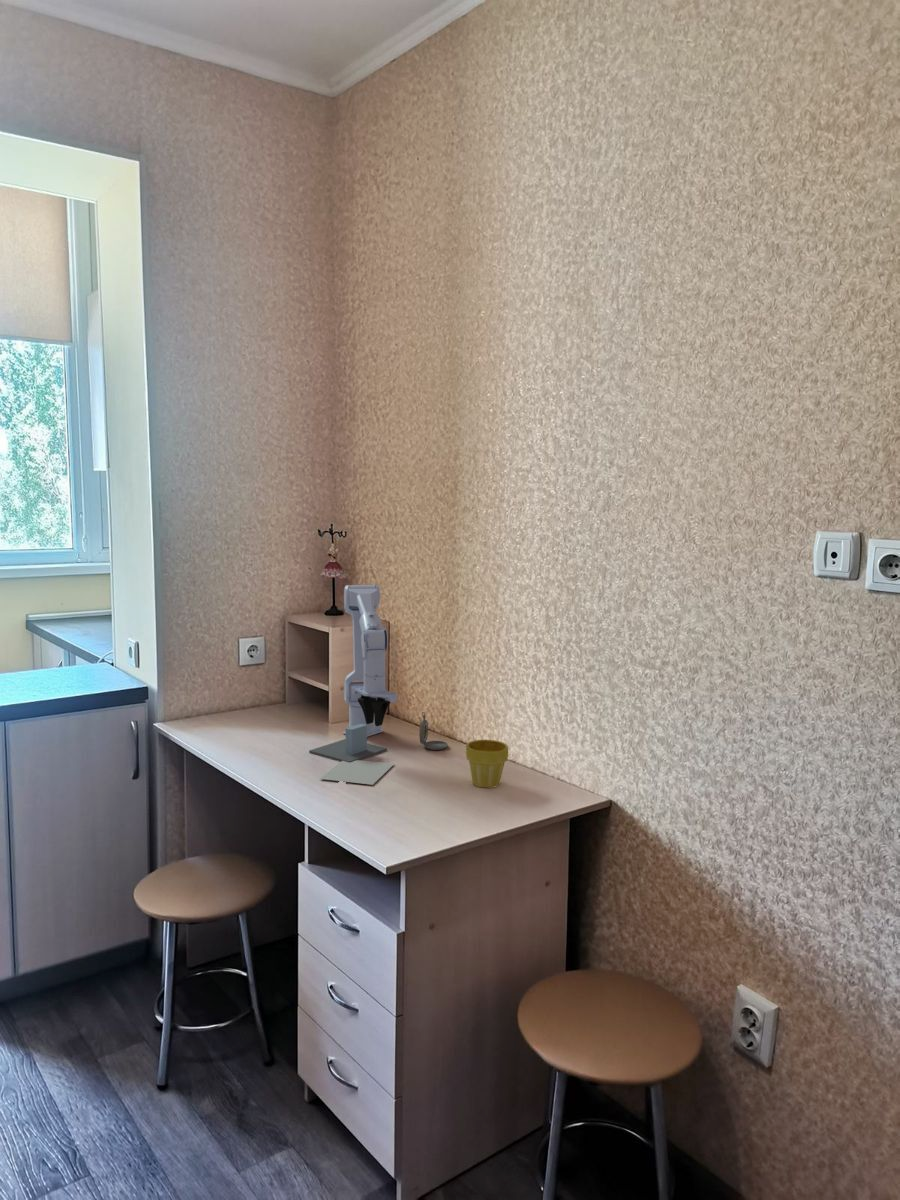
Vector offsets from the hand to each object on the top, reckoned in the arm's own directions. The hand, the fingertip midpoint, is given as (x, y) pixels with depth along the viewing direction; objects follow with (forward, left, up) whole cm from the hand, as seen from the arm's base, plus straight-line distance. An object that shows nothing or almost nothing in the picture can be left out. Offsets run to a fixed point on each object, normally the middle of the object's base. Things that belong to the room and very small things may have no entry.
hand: (374, 724), depth 230 cm
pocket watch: (-18, +5, -10) cm, 21 cm away
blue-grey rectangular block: (0, -6, -9) cm, 11 cm away
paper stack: (+13, +10, -10) cm, 19 cm away
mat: (0, -10, -9) cm, 13 cm away
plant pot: (-3, +34, -10) cm, 36 cm away
